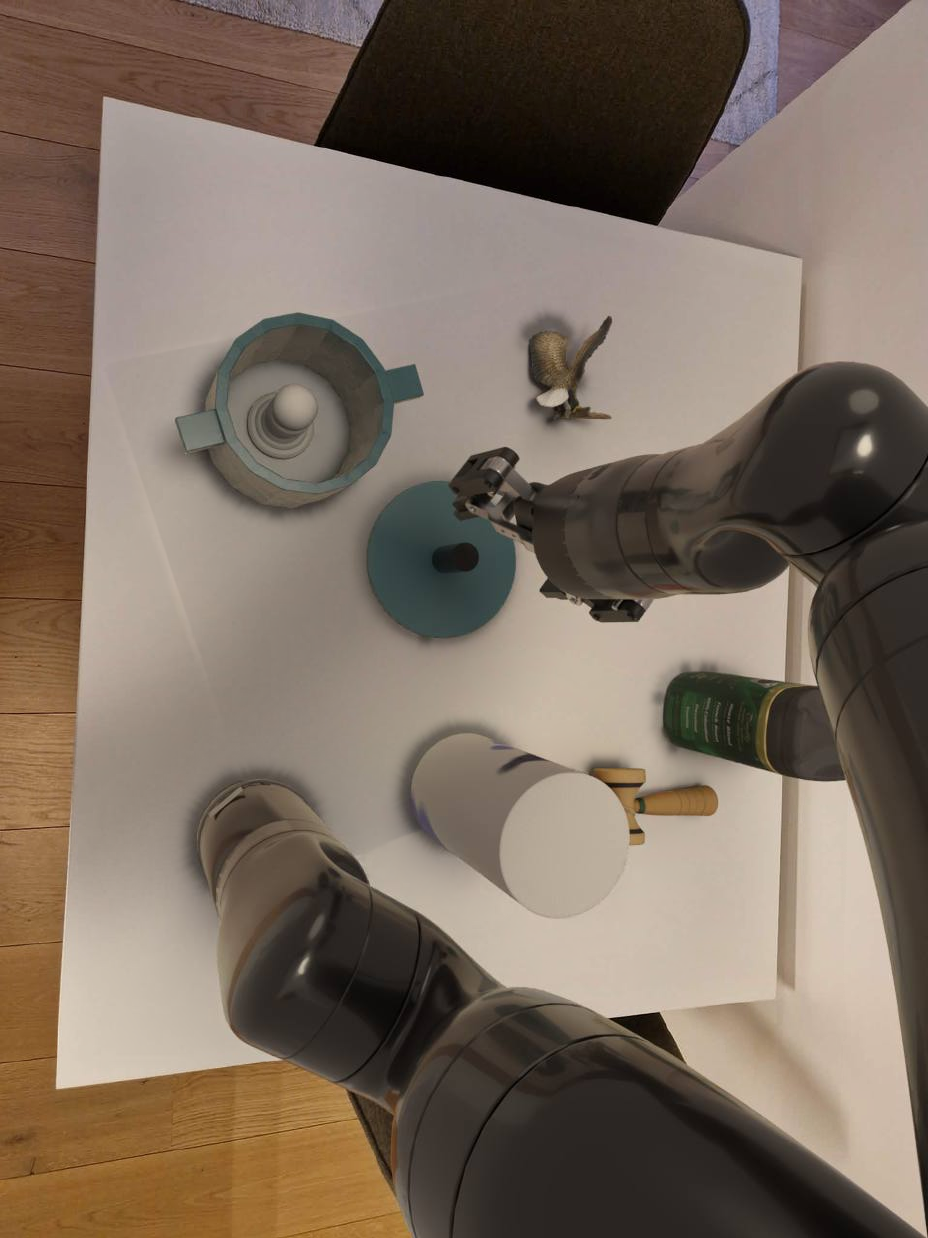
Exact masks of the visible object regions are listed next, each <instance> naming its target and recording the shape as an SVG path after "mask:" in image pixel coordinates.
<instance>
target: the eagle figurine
mask: <svg viewBox="0 0 928 1238" xmlns="http://www.w3.org/2000/svg"><path fill="white" fill-rule="evenodd" d="M612 324H613V317H612V315H608V316H606V318H605V319H604V320H603V321H602V324H601V325H599V328H598V330H596V331H594V333H592V334H591V335H590V336H588V338H587V339H586V340H584V342H583V343H582V345H581V347H580V348H579V350H578V352H577V353H576V355H575V357H574V360H573V362H572V364H571V367H570V369H569V365H568V359H567V357H568V356H567V353H568V350H567V349H568V344H569V340H570V337H569V336H568V335H565V334H563V333H559V332H557V331H553V330H544V331H539V332H538V333H535V334H532V336H531V338H529V343H528V347H529V353H530V355H531V356H530V358H531V363H532V364H531V365H530V366H531V368H530V369H531V370H530V371H531V373H532V376H533V377H534V380H535V381H536V382H537V383H538V384H540V383H541V384H542V385H546V386H547V388H549V390H547V391H545V392H544V393H542V394H540V395H538V396H536V401H537V403H538V404H539V406H541V407H545V408H555V407H556V408H557V410H556V411H555V412H554V415H553V418H552V419H553V420H555V421H557V420H558V419H562V418H563V419H565V420H568V419H582V420H612V418H613V417H612V416H611V415H610V414H607V413H603V412H595V411H593V412H591V409H592V408H591V406H585V407H582V406H581V405H580V402H579V400H578V398H577V390H578V388H579V386H580V384H581V380H582V378H583V376H584V374H585V371H586V370H585V367H586V363H587V362H588V360H589V359H590V358H592V357H593V354H594V353H595V351H597V350H598V348H599V347H600V346H601V345H603V344H604V341H605V340H606V339H607V335H608V333H609V332H610V328H611V327H612ZM565 402H567V403H568V406H569V407H565Z"/></svg>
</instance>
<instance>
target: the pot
mask: <svg viewBox="0 0 928 1238" xmlns="http://www.w3.org/2000/svg"><path fill="white" fill-rule="evenodd" d="M276 360H278V361H283V362H287V363H292V364H297V365H302V366H305V367H307V368H308V369H310V371H313V372H314V373H316V374H318V375H319V376H321V377H322V378H324V379H326V380H327V382H328V383H329V384H330V386H331V387H332V388H333V389H334V391H335V392H336V393H337V395H338V396H339V397H340V399H341V400H342V402H343V405H344V409H345V412H346V416H347V418H348V421H349V425H350V433H349V434H350V435H349V445H348V446H349V447H348V454H347V455H346V457H345V459H344V461H343V463H342V464H341V467H340V468H339V470H338V472H337V474H336V475H335V476H334V477H332V478H329V479H327V480H323V481H318V482H312V481H305V480H297V479H291V478H285V477H283V476H282V475H280V474H278V473H276V472H274V471H273V470H272V469H269V468H267V467H266V466H264V465H262V464H261V463H259V462H257V460H256V458H254V456H253V455H252V454H251V452H250V451H249V450H248V449H247V447H245V445H244V444H243V442H242V441H241V440H240V438H238V437H237V433H236V430H235V427H234V423H233V420H232V417H231V414H230V412H229V408H228V399H229V387H230V381H231V380H232V379H233V378H234V377H236V376H237V375H239V374H240V373H242V372H243V371H244V370H246V369H247V368H249V367H250V366H253V365H257V364H262V363H268V362H271V361H276ZM424 395H425V392H424V390H423V387H422V383H421V379H420V375H419V372H418V369H417V365H416V363H412V364H408V365H403V366H399V367H395V368H390V369H385V367H384V365H383V364H382V363H381V361H380V360H379V359H378V357H377V356H376V354H375V353H374V352H373V351H372V350H371V348H370V347H369V345H368V344H367V342H366V341H365V340H364V339H363V338H362V337H361V336H359V335H357V334H356V333H354V332H353V331H351V330H350V329H349V328H347V327H345V326H344V325H343V324H341V323H340V322H337V321H336V320H334V319H332V318H327V317H322V316H318V315H313V314H308V313H303V312H299V311H298V312H292V313H286V314H282V315H276V316H272V317H267V318H263V319H261V320H260V321H259V322H257V323H256V324H254V325H253V326H252V327H250V328H249V329H247V330H246V331H245V332H243V333H242V334H239V336H238V337H236V338H235V339H234V341H233V342H232V344H231V346H230V348H229V350H228V351H227V353H226V355H225V357H224V359H223V360H222V362H221V364H220V366H219V367H218V370H217V372H216V374H215V377H214V379H213V381H212V384H211V386H210V388H209V390H208V393H207V395H206V399H205V402H204V411H199V412H195V413H191V414H185V415H183V416H181V415H180V416H177V417H175V418H174V424H175V427H176V430H177V433H178V436H179V439H180V442H181V446H182V448H183V449H182V450H183V452H184V454H185V455H188V454H192V453H195V452H199V451H205V450H208V453H209V456H210V460H211V463H212V464H213V466H214V467H215V468H216V469H217V471H218V472H219V473H220V474H221V475H222V476H223V478H224V480H226V482H227V483H228V484H229V485H230V487H232V488H233V489H234V490H236V491H237V492H239V493H241V494H243V495H244V496H247V497H248V498H250V499H252V500H254V501H255V502H257V503H259V504H261V505H265V506H274V507H282V508H290V509H295V508H298V507H301V506H305V505H308V504H312V503H317V502H321V501H322V500H325V499H327V498H328V497H330V496H332V495H334V494H336V493H338V492H340V491H343V490H344V489H346V488H348V487H350V486H352V485H353V484H354V483H356V482H357V481H358V480H359V479H361V478H362V477H363V476H364V475H365V474H367V473H368V472H369V471H371V470H372V469H373V468H375V466H376V465H377V464H378V462H379V460H380V458H381V456H382V454H383V452H384V450H385V449H386V446H387V444H388V443H389V441H390V439H391V437H392V433H393V432H392V430H393V423H394V422H393V419H394V410H395V409H394V408H395V405H396V404H400V403H404V402H409V401H413V400H417V399H420V398H423V396H424Z"/></svg>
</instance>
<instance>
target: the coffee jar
mask: <svg viewBox="0 0 928 1238" xmlns="http://www.w3.org/2000/svg"><path fill="white" fill-rule="evenodd" d="M666 691H667V692H666V696H665V699H664V706H663V707H664V708H663V724H664V730H665V733H666V736H667V738H668V739H669V741H671V743H672V744H673V745H675V746H676V747H679V748H681V749H685V750H688V751H692V752H696V753H699V754H703V755H707V756H711V757H714V758H715V757H716V758H718V759H723V760H726V761H729V762H733V763H737V764H741V765H744V766H746V767H750V768H755V769H758V770H763V771H766V772H769V773H774V774H776V775H780V776H783V777H788V778H793V779H799V780H803V781H810V782H822V783H823V782H824V783H825V782H827V783H828V782H842V781H846V779H845V775H844V772H843V769H842V766H841V763H840V760H839V755H838V752H837V749H836V746H835V743H834V739H833V736H832V733H831V729H830V726H829V723H828V719H827V716H826V713H825V710H824V706H823V703H822V700H821V696H820V693H819V690H818V686H817V685H812V684H805V683H804V684H803V683H797V682H790V681H783V680H775V679H767V678H759V677H751V676H743V675H737V674H731V673H723V672H715V671H714V672H713V671H692V672H691V671H690V672H685V673H681V674H679V675H678V676H676V677H675V678H674V679H673V680H672V681H671V683H670V685H669V686H668V688H667V690H666Z"/></svg>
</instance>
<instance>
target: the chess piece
mask: <svg viewBox="0 0 928 1238" xmlns="http://www.w3.org/2000/svg"><path fill="white" fill-rule="evenodd" d="M318 410H319V404H318V400H317V398H316V396H315V394H314V393H313V392H312V391H311V390H310V389H309V388H307V387H306V386H304V385H302V384H298V383H290V384H285V385H284V386H281V388H280V389H279V390H278V391H275V392H269V393H267V394H263V395H262V396H260V397H259V398H257V400H256V401H255V402H254V403H253V404H252V406H251V407H250V409H249V411H248V415H247V421H246V422H247V425H246V426H247V430H248V434H249V437H250V439H251V441H252V443H253V444H254V445H255V446H256V447H257V449H259V451H261V452H262V453H263V454H265V455H267V456H269V457H272V458H275V459H292V458H295V457H297V456H299V455H300V454H302V453H303V452H304V451H306V450H307V448H308V447H309V446H310V444H311V441H312V440H313V438H314V434H315V433H314V432H315V424H314V421H315V419H316V418H317V415H318Z"/></svg>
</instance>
